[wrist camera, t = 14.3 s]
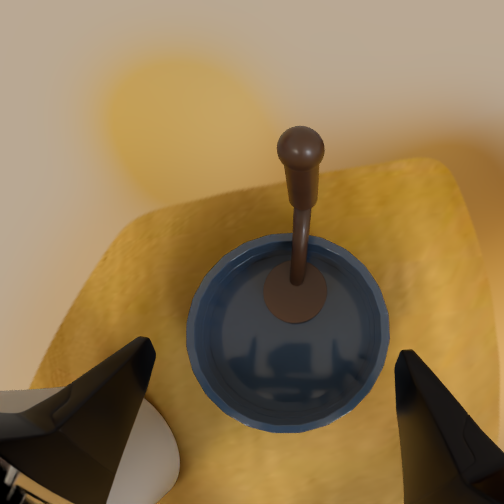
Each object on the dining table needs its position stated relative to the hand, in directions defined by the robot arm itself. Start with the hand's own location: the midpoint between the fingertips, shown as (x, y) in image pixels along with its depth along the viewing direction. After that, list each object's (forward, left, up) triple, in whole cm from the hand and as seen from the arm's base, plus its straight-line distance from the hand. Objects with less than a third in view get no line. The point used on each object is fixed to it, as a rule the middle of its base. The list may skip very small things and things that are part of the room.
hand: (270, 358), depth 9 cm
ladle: (+5, 0, -11) cm, 13 cm away
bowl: (+1, 0, -12) cm, 12 cm away
